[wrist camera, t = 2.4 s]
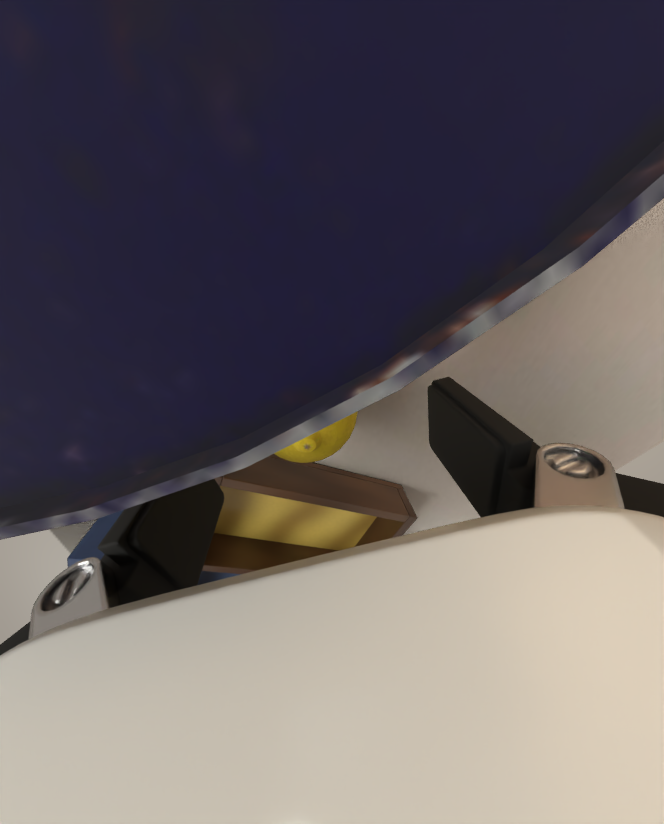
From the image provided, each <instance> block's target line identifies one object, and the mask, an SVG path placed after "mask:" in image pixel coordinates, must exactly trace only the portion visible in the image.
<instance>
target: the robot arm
mask: <svg viewBox="0 0 664 824" xmlns="http://www.w3.org/2000/svg"><path fill="white" fill-rule="evenodd" d="M428 419H429V443H430V446H431V448H432V450H433V451H434V453H435V454H436V455H437V457H438V458H439V460H440V461H441V462H442V464H443V465H444V467H445V468H446V469H447V471H448V472H449V474H450V475H451V476H452V478H453V479H454V480H455V482H456V483H457V485H458V486H459V487H460V489H461V490H462V492H463V493H464V494H465V496H466V497H467V499H468V500H469V501H470V503H471V504H472V506H473V507H474V508H475V510H476V511H477V512H478V514H479V515H480V516H481V518H477V519H472V520H468V521H463V522H458V523H454V524H449V525H445V526H440V527H436V528H432V529H428V530H423V531H419V532H415V533H411V534H407V535H402V536H398V537H394V538H390V539H386V540H381V541H377V542H373V543H369V544H364V545H360V546H356V547H352V548H348V549H344V550H339V551H335V552H331V553H327V554H323V555H319V556H315V557H310V558H306V559H302V560H298V561H294V562H290V563H286V564H282V565H278V566H273V567H269V568H265V569H261V570H257V571H253V572H249V573H245V574H241V575H237V576H233V577H229V578H225V579H221V580H217V581H213V582H209V583H205V584H201V585H197V584H198V581H199V578H200V575H201V572H202V569H203V566H204V562H205V559H206V556H207V553H208V550H209V547H210V544H211V541H212V537H213V534H214V531H215V528H216V525H217V522H218V519H219V515H220V512H221V509H222V506H223V503H224V493H223V491H222V490H221V488H220V487H219V485H218V484H217V482H216V481H215V479H211V480H209V481H206V482H203V483H200V484H197V485H194V486H191V487H188V488H185V489H182V490H180V491H177V492H174V493H171V494H168V495H165V496H162V497H159V498H156V499H153V500H151V501H148V502H145V503H142V504H139V505H136V506H133V507H130V508H127V509H124V510H123V512H122V513H121V515H120V516H119V517H118V519H117V520H116V522H115V523H114V524H113V526H112V527H111V529H110V530H109V531H108V533H107V534H106V536H105V537H104V538H103V540H102V541H101V543H100V544H99V545H98V547H97V548H98V549H99V550H100V551H101V552H103V553H104V556H103V557H102V559H101V560H100V559H98V558H95V557H90V558H85V559H83V560H81V561H78V562H76V563H75V564H73V565H71V566H70V567H68V568H67V569H66V570H64V571H63V572H61V573H60V574H59V575H58V576H56V577H55V579H53V580H52V581H51V582H50V583H49V584H48V585H47V586H46V588H45V589H44V590H43V591H42V592H41V593H40V595H39V597H38V598H37V600H36V601H35V603H34V606H33V609H32V613H31V621H30V622H29V623H28V624H26V625H25V626H24V627H23V628H21V629H20V630H19V631H18V632H16V633H15V634H14V635H12V636H11V637H10V638H8V639H7V640H6V641H4V642H3V643H2V644H1V645H0V824H664V484H661V483H657V482H653V481H648V480H644V479H639V478H635V477H631V476H626V475H622V474H617V473H615V470H614V468H613V466H612V464H611V462H610V461H608V460H607V459H606V458H605V457H604V456H602V455H601V454H599V453H597V452H595V451H594V450H591V449H588V448H586V447H583V446H579V445H574V444H569V443H551V444H547V445H544V446H542V447H540V446H538V445H537V444H536V443H534V442H533V439H532V438H530V437H529V436H527V435H526V434H525V433H523V432H522V431H521V430H519V429H518V428H517V427H515V426H514V425H513V424H511V423H510V422H509V421H507V420H506V419H505V418H503V417H502V416H501V415H499V414H498V413H497V412H495V411H494V410H493V409H491V408H490V407H489V406H487V405H486V404H485V403H483V402H482V401H481V400H479V399H478V398H477V397H475V396H474V395H473V394H471V393H470V392H469V391H467V390H466V389H465V388H463V387H462V386H461V385H459V384H458V383H457V382H455V381H454V380H453V379H451V378H450V377H446V378H443V379H439V380H435V381H433V382H432V385H430V386H428Z"/></svg>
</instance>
